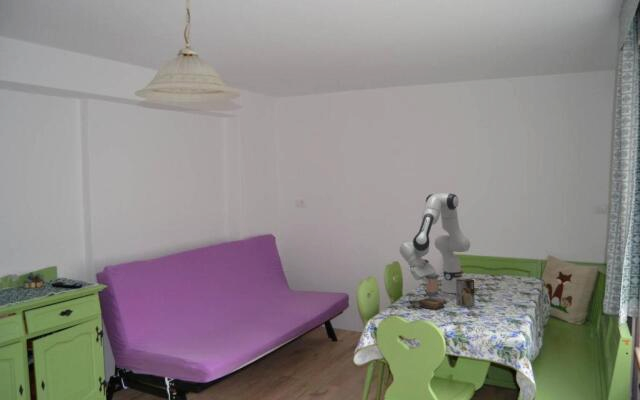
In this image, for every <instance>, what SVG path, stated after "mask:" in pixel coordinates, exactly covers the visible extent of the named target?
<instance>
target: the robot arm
mask: <svg viewBox="0 0 640 400" xmlns="http://www.w3.org/2000/svg"><path fill="white" fill-rule="evenodd" d="M458 198H459V197H458V196H457V195H456V194H455V193H447V192H445V193H442V192H441V193H431V194H429V195H427V196H426V199H425V204H424V207H423V209H422V210H423V211H422V214H421V224H420V226H419V227H420V228H419V231H418V232H417V233H416V234H415V236H414V237H413V239H412V242H408V241H405V242H403V244H402V245H401V246H400V247H399V254H400V255H401V257H402V258H403V259H404V261H406V262H407V264H408V266H409V271H410V274H411V275H412V277H413V279H414V280H416V281H420V280H422V282H424V283H425V284H429V283H430V281H429V280H427V279H426V275H429V274H433V275H437V271H436V269H435V268H434V266H433V265H432V264H431V263H430V261H429V260H427V259H424V258H423V257H425V256H427V254H428V253H429V251H430V242H431V241H430V232H431V229H432V226H433V225H435V224H437V222H438V221H439V219H440V218H441V220H440V221H441V227H442V229H443V231H445V232H446V233H447V234H448V235H447V234H445V235H444V234H442V235H438V236H436V238H435V239H434V246H435V249H437V250H438V251H439V252H440V255H441V256H442V259H443V278H441V279H442V280H441V287H440V288H439V289H440V290H441V292H442V293H447V294H456V279H465V277H463V275H464V271H463V270H461V259H460V258H459V257H458V256H456V255H455V253H465V252H468V251H469V250H470V248H471V241H470V239H469V238H468V237H467V236H465V235H464V233H463V232H462V230H461V228H460V224H459V217H458V210H457V207H458V206H459V199H458ZM454 252H455V253H454Z"/></svg>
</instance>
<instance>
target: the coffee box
mask: <svg viewBox="0 0 640 400" xmlns="http://www.w3.org/2000/svg"><path fill="white" fill-rule="evenodd" d="M455 294H456V295H455V296H456V305H457V306H459V307H461V308H465V307H474V306H476V305H475V303H476V302H475V301H476V300H475V299H476V298H475V280H474V279H472V278H468V277H467V278H464V279H456V293H455Z"/></svg>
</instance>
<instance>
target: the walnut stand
mask: <svg viewBox="0 0 640 400" xmlns="http://www.w3.org/2000/svg"><path fill="white" fill-rule="evenodd" d="M446 304H447V300H446V299H439V298H434V297H426V298H423V299H420V300H418V305H420V308H422V309H423V308H424V309H428V310H434V311H436V310H439V309H442V308H444V306H445V305H446Z"/></svg>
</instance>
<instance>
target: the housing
mask: <svg viewBox="0 0 640 400" xmlns="http://www.w3.org/2000/svg"><path fill="white" fill-rule="evenodd" d="M438 278H439V277H438V274H435V275H433V274H429V275H426V279H427V280H429V281H430V283H429V284H426V283H425V284H426V285H425V286H426V289H425V290H426V293H425V295H426V296H432V297H434V296H439V295H438V294H439V282H438V281H439V279H438Z"/></svg>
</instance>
